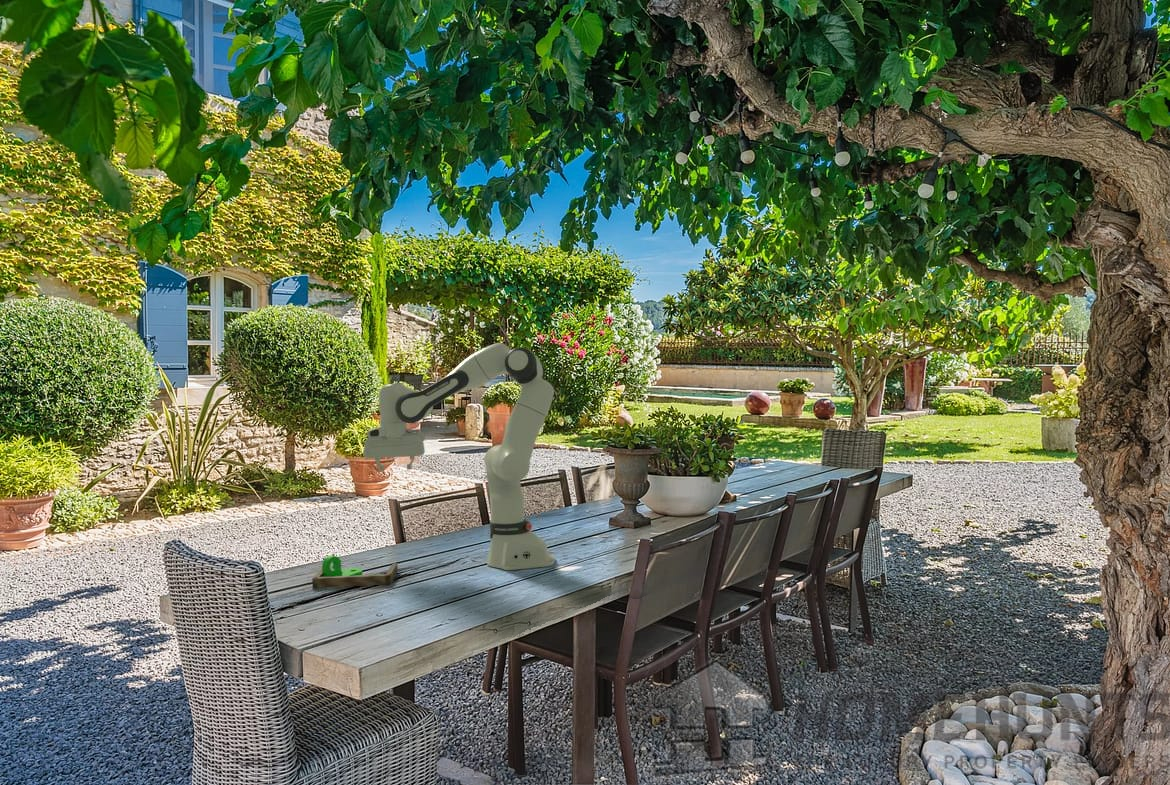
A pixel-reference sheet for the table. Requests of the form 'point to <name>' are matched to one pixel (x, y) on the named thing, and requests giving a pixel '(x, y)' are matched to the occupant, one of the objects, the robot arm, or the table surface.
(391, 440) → the robot arm
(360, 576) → the walnut bay
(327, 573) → the mechanical part
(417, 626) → the table surface
